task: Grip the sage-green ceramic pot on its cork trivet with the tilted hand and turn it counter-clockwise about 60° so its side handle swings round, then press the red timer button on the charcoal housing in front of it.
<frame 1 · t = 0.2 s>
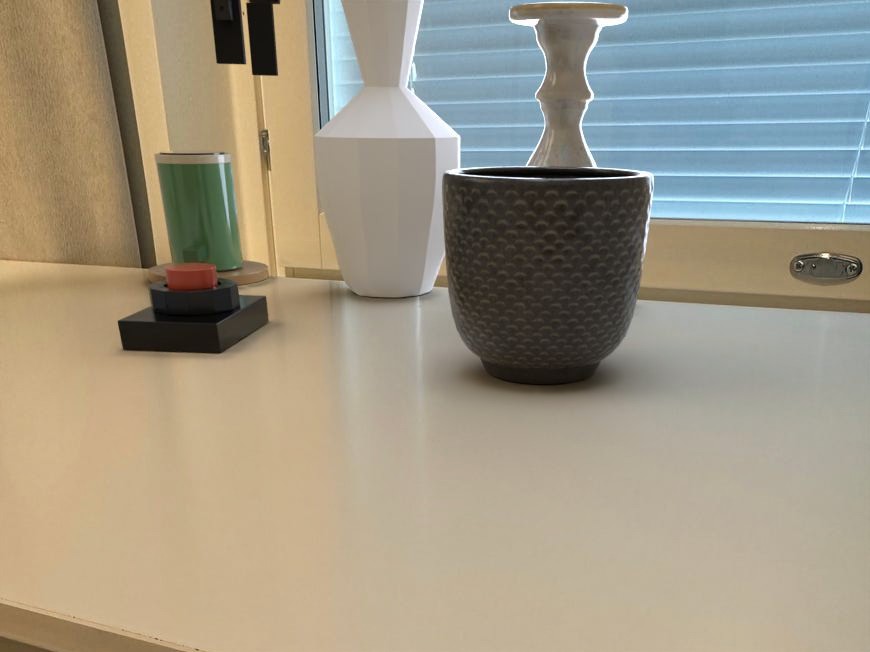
hand: (249, 70, 92), 20 cm above the table, tool pointing down, fingers open, 13 cm apart
planter: (539, 373, 65), on the table
timer button: (191, 278, 72), point 4 cm above the table, slide at 0.1 cm
vase: (394, 292, 93), on the table
trivet: (210, 277, 99), on the table
candle holder: (554, 304, 88), on the table
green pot: (196, 212, 94), point 7 cm above the table, hinge at 0.0°
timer: (200, 334, 74), on the table
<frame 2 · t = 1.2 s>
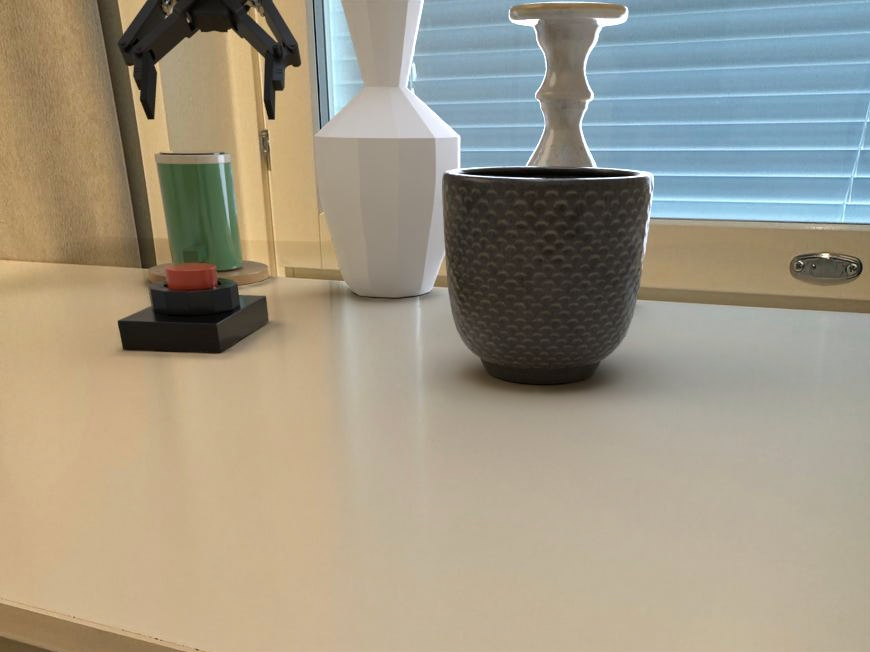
hand: (208, 110, 100), 16 cm above the table, tool tilted 45°, fingers open, 13 cm apart
nothing on the table moved.
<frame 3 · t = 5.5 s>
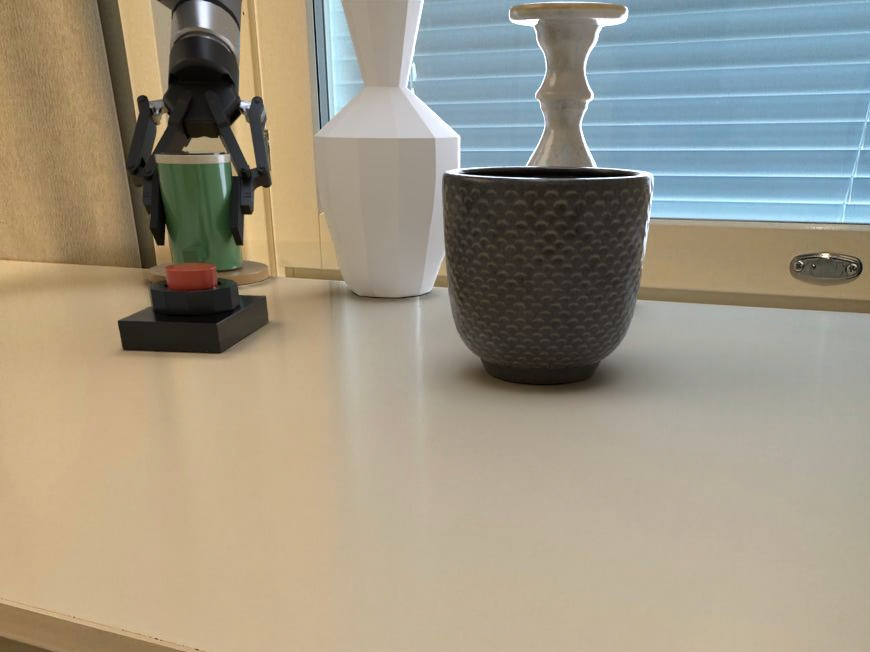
hand: (197, 236, 94), 5 cm above the table, tool tilted 45°, fingers closed on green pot, 8 cm apart
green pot: (196, 212, 94), point 7 cm above the table, hinge at -0.1°, touching gripper
everything else where it was.
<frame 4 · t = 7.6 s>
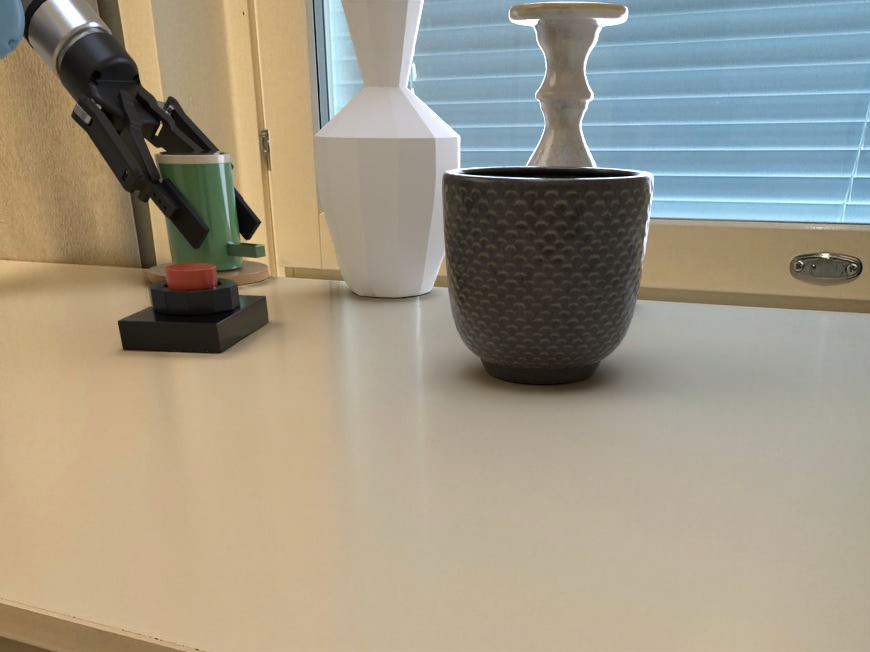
hand: (228, 235, 95), 5 cm above the table, tool tilted 45°, fingers closed on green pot, 8 cm apart
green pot: (214, 211, 95), point 7 cm above the table, hinge at 59.7°, touching gripper
everything else where it was.
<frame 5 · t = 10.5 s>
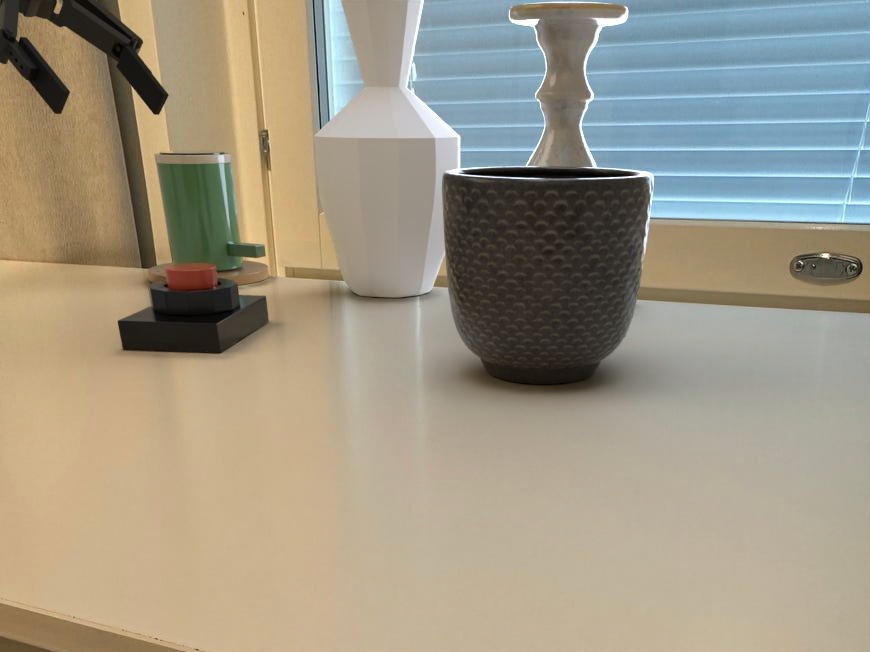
hand: (115, 104, 94), 17 cm above the table, tool tilted 45°, fingers open, 13 cm apart
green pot: (214, 211, 95), point 7 cm above the table, hinge at 59.7°
everything else where it was.
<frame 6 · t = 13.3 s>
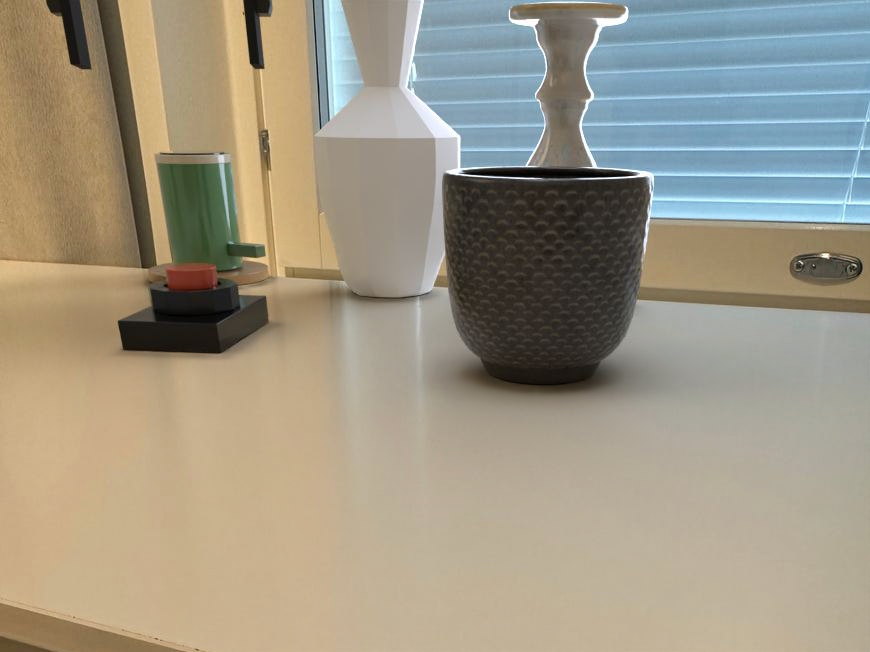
hand: (169, 67, 69), 19 cm above the table, tool pointing down, fingers open, 13 cm apart
nothing on the table moved.
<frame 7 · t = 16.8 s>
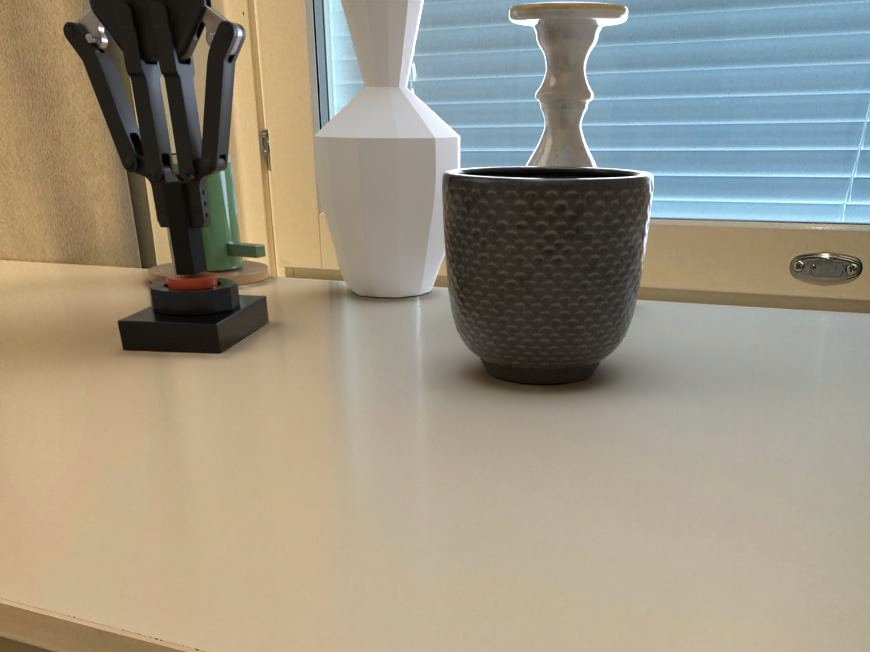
hand: (192, 271, 72), 5 cm above the table, tool pointing down, fingers closed
timer button: (193, 286, 72), point 4 cm above the table, slide at -0.6 cm, touching gripper
everything else where it was.
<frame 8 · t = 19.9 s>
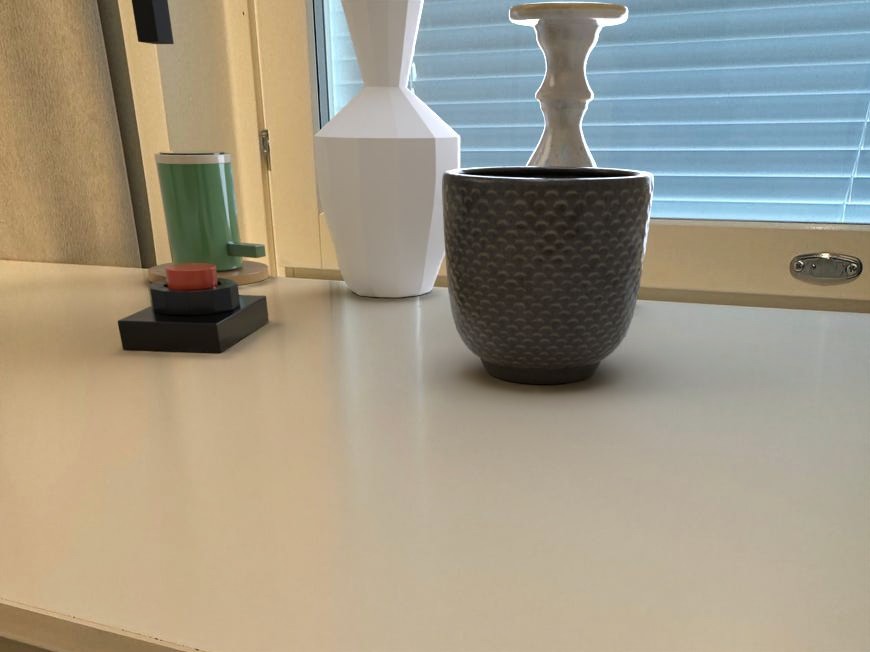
hand: (156, 42, 64), 20 cm above the table, tool pointing down, fingers closed
timer button: (191, 278, 72), point 4 cm above the table, slide at 0.1 cm
everything else where it was.
at the end: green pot at +60° (first picture: +0°); timer button pushed in 1.0 cm at the most during the clip, back to where it started at the end; timer button slide at 0.1 cm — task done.
